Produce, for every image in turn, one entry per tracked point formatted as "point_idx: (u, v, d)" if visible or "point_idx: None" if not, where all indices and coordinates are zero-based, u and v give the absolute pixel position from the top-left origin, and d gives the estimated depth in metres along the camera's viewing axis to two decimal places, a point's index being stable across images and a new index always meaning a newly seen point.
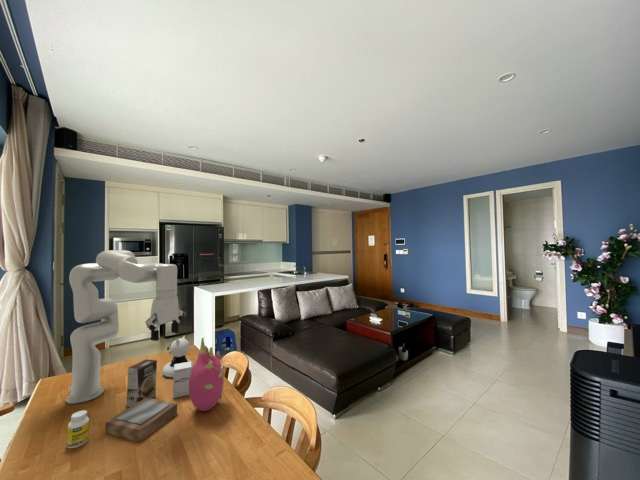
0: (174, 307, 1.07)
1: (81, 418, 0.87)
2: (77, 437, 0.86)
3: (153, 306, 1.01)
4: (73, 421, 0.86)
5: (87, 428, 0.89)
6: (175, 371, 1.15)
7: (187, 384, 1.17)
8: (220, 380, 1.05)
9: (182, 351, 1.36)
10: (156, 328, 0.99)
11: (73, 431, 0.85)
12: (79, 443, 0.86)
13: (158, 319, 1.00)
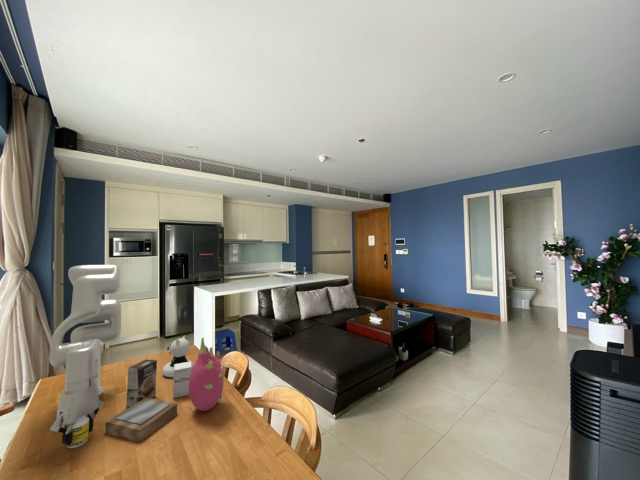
0: (90, 398, 0.90)
1: (81, 418, 0.87)
2: (77, 437, 0.86)
3: (60, 402, 0.84)
4: None
5: (87, 428, 0.89)
6: (175, 371, 1.15)
7: (187, 384, 1.17)
8: (220, 380, 1.05)
9: (182, 351, 1.36)
10: (68, 430, 0.84)
11: (73, 431, 0.85)
12: (79, 443, 0.86)
13: (65, 419, 0.83)
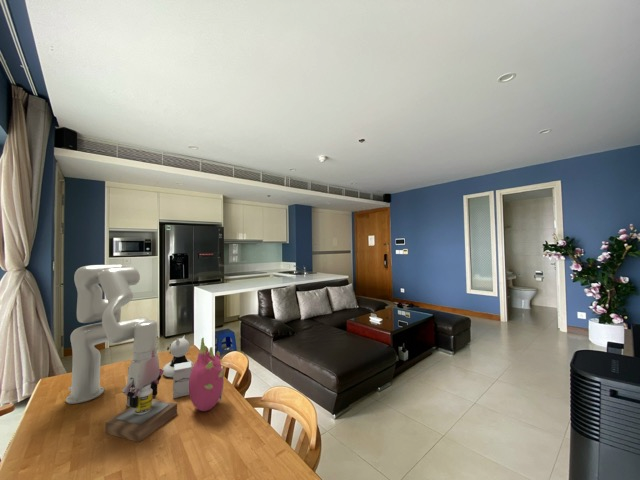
0: (154, 367, 1.00)
1: (147, 388, 0.98)
2: (144, 405, 0.96)
3: (130, 369, 0.95)
4: (140, 391, 0.97)
5: (151, 398, 0.99)
6: (175, 371, 1.15)
7: (187, 384, 1.17)
8: (220, 380, 1.05)
9: (182, 351, 1.36)
10: (135, 394, 0.94)
11: (141, 399, 0.96)
12: (145, 410, 0.97)
13: (135, 384, 0.94)
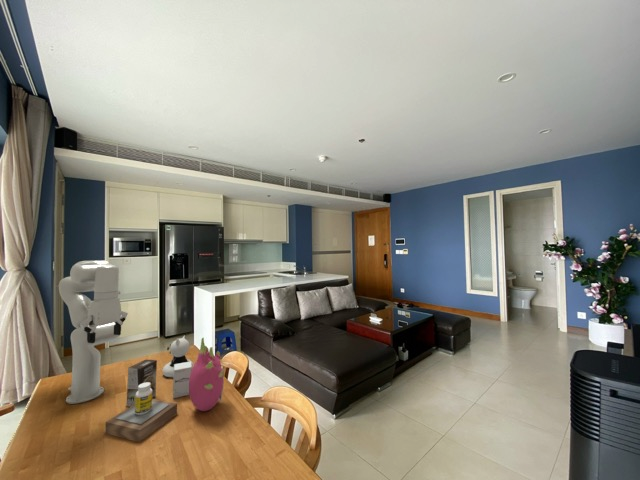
0: (115, 309, 1.05)
1: (147, 389, 0.98)
2: (144, 405, 0.96)
3: (90, 308, 1.00)
4: (140, 391, 0.97)
5: (151, 398, 0.99)
6: (175, 371, 1.15)
7: (187, 384, 1.17)
8: (220, 380, 1.05)
9: (182, 351, 1.36)
10: (92, 330, 0.98)
11: (140, 399, 0.96)
12: (145, 410, 0.97)
13: (94, 321, 0.99)
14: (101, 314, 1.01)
